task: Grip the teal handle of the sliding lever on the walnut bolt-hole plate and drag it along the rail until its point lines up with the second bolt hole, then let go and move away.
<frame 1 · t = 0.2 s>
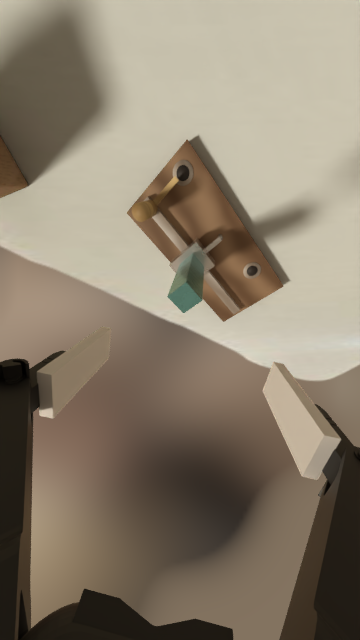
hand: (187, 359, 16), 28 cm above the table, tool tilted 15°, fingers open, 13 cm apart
sliding lever: (198, 267, 29), point 10 cm above the table, slide at 11.0 cm
hole plate: (209, 249, 37), on the table
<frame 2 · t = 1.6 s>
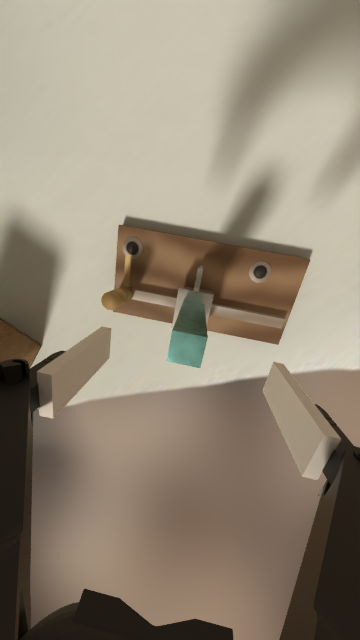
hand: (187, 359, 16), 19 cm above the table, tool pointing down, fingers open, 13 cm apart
sliding lever: (193, 307, 24), point 10 cm above the table, slide at 11.0 cm
hole plate: (202, 286, 33), on the table
wooden block: (13, 348, 41), on the table
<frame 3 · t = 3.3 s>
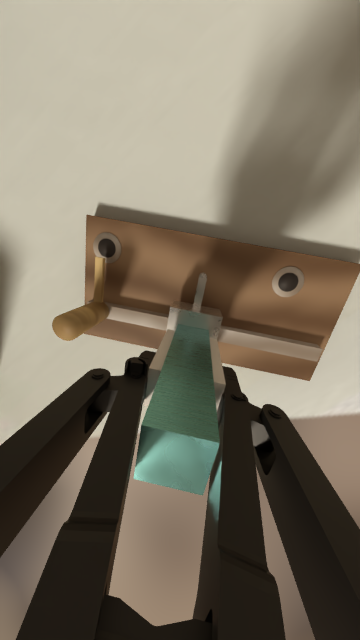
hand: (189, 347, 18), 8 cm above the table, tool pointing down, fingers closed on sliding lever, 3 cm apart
sliding lever: (191, 341, 15), point 10 cm above the table, slide at 11.0 cm, touching gripper
hole plate: (205, 300, 24), on the table
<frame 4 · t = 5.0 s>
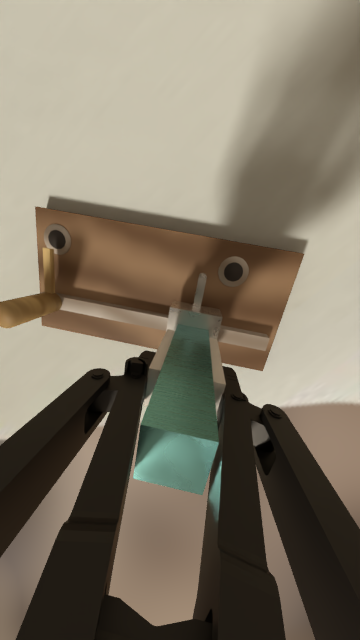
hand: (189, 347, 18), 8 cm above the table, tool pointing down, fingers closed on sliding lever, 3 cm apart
sliding lever: (191, 341, 15), point 10 cm above the table, slide at 16.8 cm, touching gripper
hole plate: (159, 292, 24), on the table
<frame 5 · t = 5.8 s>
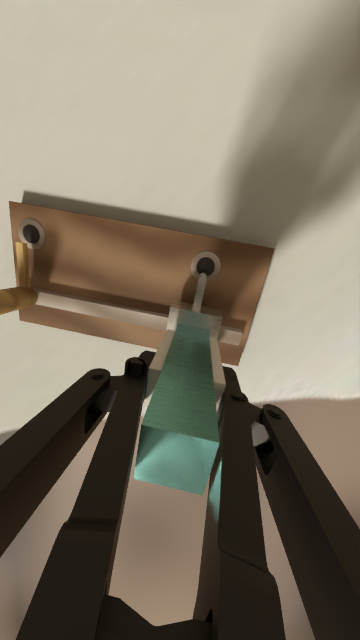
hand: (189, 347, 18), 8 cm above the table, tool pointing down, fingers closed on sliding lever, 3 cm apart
sliding lever: (191, 341, 15), point 10 cm above the table, slide at 19.9 cm, touching gripper
hole plate: (135, 287, 24), on the table
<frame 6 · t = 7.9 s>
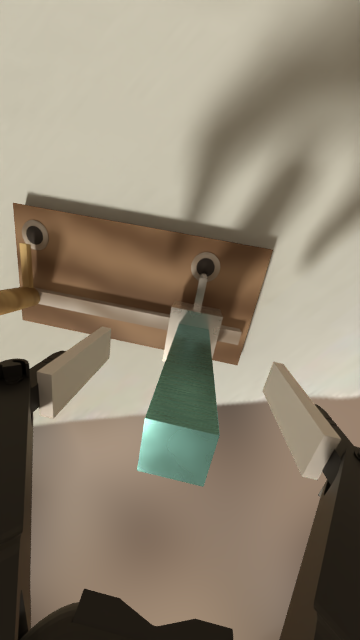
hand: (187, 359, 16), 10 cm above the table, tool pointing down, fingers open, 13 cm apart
sliding lever: (192, 340, 15), point 10 cm above the table, slide at 20.0 cm
hole plate: (136, 287, 25), on the table
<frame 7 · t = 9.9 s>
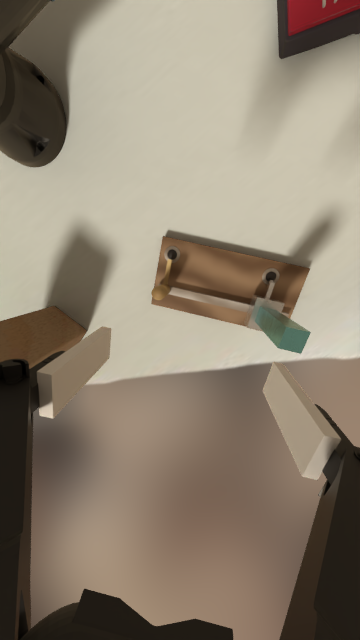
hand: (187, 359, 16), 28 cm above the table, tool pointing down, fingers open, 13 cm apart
sliding lever: (276, 312, 32), point 10 cm above the table, slide at 20.0 cm
hole plate: (224, 286, 41), on the table
wooden block: (62, 332, 49), on the table
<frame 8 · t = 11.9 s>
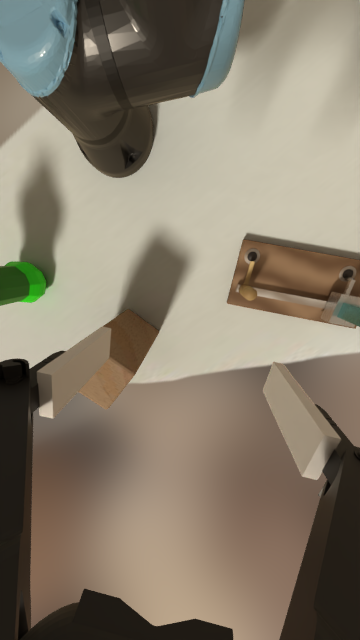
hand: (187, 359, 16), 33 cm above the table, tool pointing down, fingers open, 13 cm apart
hole plate: (298, 284, 44), on the table
wooden block: (134, 333, 52), on the table
plastic bottle: (36, 280, 50), on the table
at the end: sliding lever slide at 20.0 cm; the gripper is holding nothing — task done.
